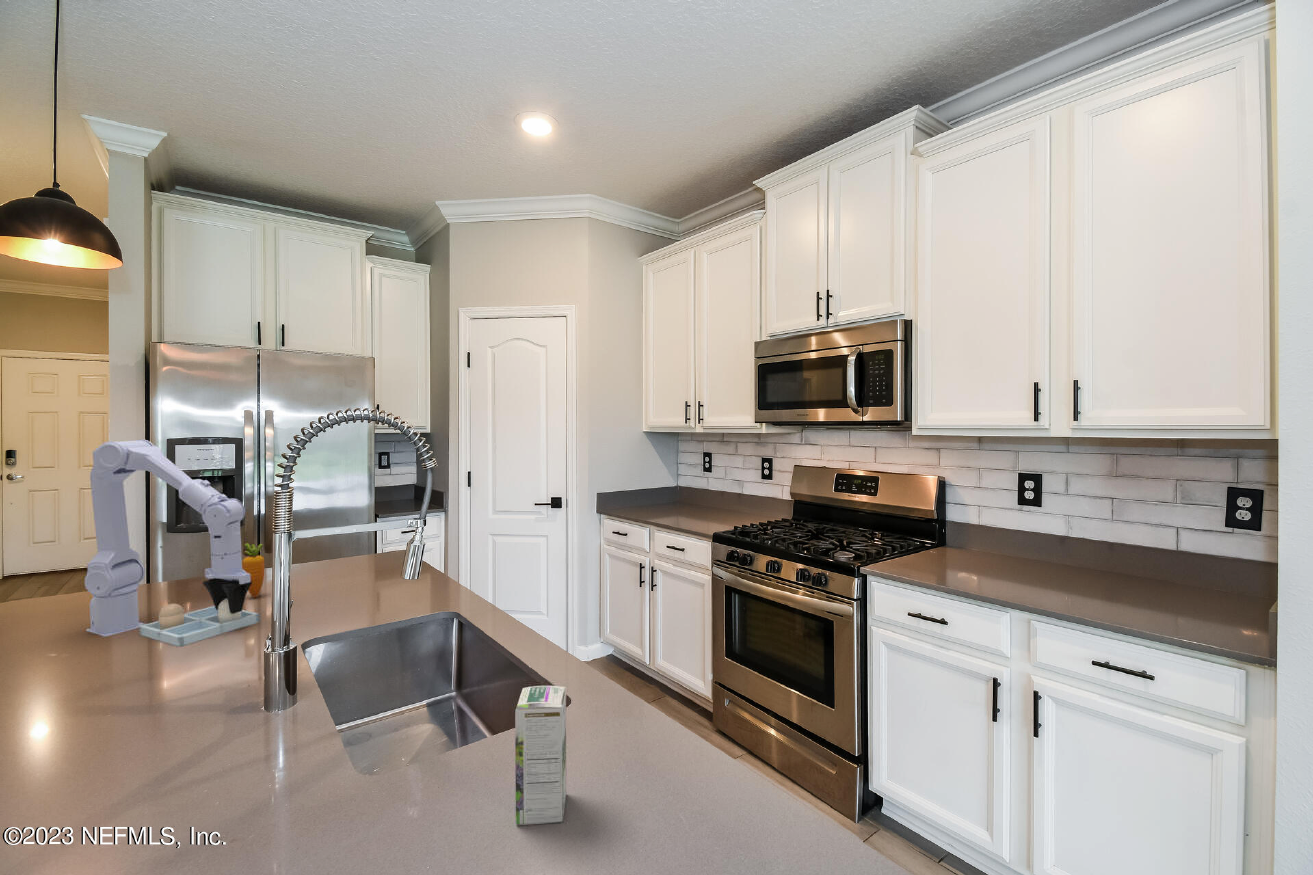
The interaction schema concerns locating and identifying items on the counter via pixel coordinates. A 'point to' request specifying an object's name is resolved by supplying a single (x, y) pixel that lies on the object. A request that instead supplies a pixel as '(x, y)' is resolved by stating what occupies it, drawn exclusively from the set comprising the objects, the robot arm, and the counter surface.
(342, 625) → the counter surface
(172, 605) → the brown egg
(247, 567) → the carrot
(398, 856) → the counter surface
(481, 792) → the counter surface
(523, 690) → the syrup box
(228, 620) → the cream egg
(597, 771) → the counter surface
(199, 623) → the divided tray
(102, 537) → the robot arm
